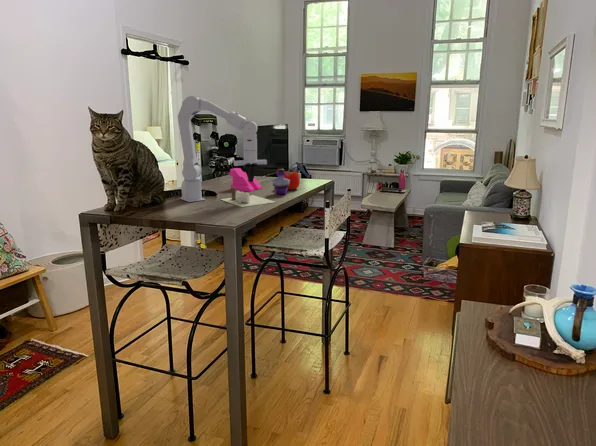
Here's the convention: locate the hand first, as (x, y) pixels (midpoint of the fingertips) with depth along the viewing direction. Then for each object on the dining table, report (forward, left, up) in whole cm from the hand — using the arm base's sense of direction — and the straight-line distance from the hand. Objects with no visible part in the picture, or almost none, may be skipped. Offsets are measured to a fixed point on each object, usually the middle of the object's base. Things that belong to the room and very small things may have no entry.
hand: (250, 181), depth 195 cm
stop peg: (+4, -7, -9) cm, 12 cm away
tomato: (-15, +31, -9) cm, 36 cm away
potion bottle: (-6, +20, -9) cm, 23 cm away
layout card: (0, -1, -9) cm, 9 cm away
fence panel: (+1, -5, -8) cm, 9 cm away
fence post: (-5, -6, -9) cm, 11 cm away
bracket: (-27, +14, -9) cm, 32 cm away
